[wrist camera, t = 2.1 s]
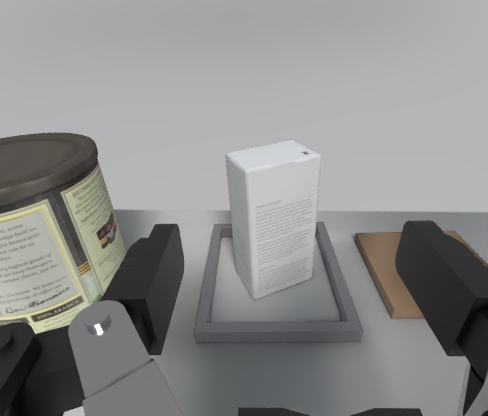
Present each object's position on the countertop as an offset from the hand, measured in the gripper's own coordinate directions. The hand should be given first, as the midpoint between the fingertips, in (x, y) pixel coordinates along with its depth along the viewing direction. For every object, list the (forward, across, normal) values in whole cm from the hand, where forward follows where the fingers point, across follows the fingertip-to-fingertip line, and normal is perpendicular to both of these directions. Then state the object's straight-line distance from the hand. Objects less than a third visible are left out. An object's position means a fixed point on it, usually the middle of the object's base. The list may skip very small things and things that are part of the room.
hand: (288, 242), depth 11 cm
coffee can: (+8, +16, +14) cm, 22 cm away
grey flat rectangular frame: (+12, 0, +13) cm, 18 cm away
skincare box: (+12, 0, +13) cm, 18 cm away
